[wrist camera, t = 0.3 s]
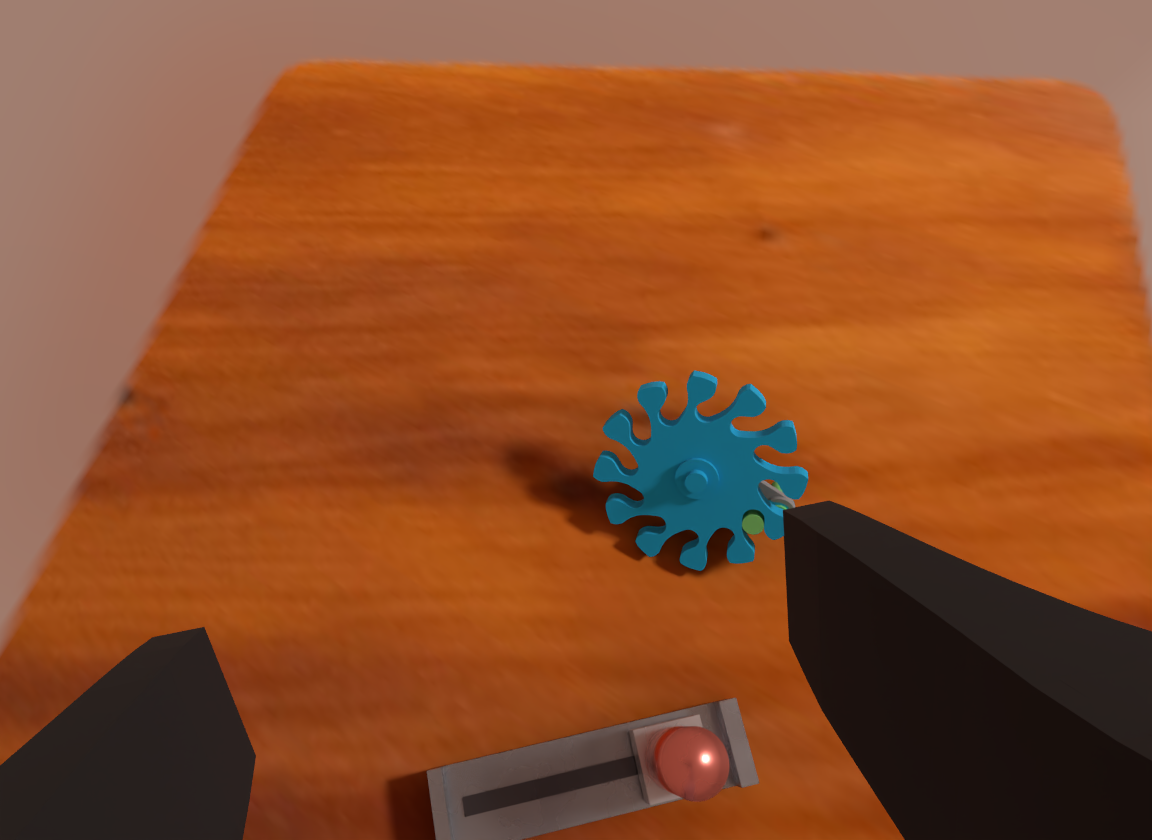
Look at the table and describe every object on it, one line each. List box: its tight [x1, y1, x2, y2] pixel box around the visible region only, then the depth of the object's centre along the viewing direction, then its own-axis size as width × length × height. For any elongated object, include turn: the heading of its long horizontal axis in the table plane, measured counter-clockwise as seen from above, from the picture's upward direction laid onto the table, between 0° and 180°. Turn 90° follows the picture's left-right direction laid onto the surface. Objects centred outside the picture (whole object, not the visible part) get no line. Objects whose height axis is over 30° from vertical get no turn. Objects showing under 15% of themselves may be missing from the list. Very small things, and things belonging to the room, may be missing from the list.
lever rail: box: [427, 698, 759, 840], centre depth 35 cm, size 4×14×2 cm, turn 102°
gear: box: [593, 370, 808, 571], centre depth 39 cm, size 11×6×10 cm
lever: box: [628, 715, 729, 805], centre depth 32 cm, size 3×3×6 cm
